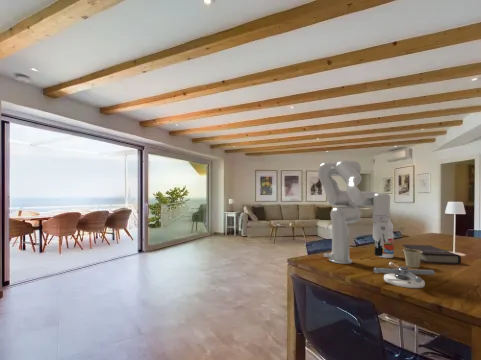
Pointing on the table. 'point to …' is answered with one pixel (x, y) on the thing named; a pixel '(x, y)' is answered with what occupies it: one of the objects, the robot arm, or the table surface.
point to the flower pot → (412, 257)
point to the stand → (403, 281)
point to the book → (435, 254)
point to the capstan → (404, 272)
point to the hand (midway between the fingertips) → (378, 255)
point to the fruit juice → (389, 243)
